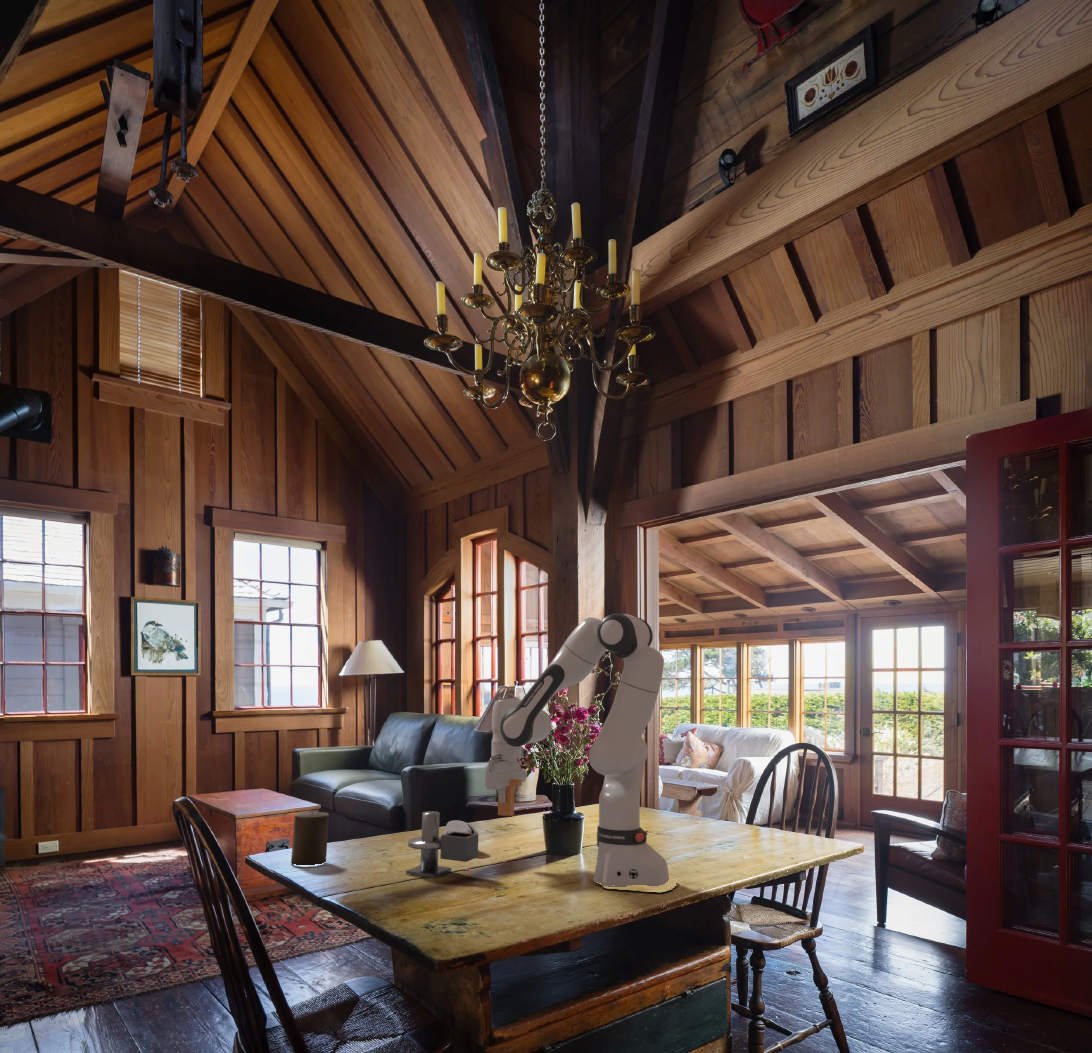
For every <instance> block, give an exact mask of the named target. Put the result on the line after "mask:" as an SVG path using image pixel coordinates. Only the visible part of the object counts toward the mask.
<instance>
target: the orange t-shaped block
mask: <svg viewBox="0 0 1092 1053" xmlns="http://www.w3.org/2000/svg"><path fill="white" fill-rule="evenodd" d="M514 786H515V787H520V786H523V782H522V780H520V779H512V780H510V785H509V786H507V787H506V791H505V795H506V796H507V802H506V803H500V802H499V795H498V794H497V815H498V816H503V817H504V816H506V817H511V816H514V815H515V790H514Z"/></svg>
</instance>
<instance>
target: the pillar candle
mask: <svg viewBox="0 0 1092 1053" xmlns="http://www.w3.org/2000/svg"><path fill="white" fill-rule="evenodd" d="M329 819H330V814H329V813H328V812H324V811H323V812H322V811H321V812H319V811H313V809H311V811H309V812H308V811H306V812H298V813H295V814H294V822H293V823H294V824H293V837H292V847H291V848H292V849H291V859H290V860H291V862H290V864H291V863H292V864H296V865H315V864H322V863H324V862H326V863H327V853H328V852H327V850H328V836H329V834H328V832H329ZM292 864H291V865H292Z"/></svg>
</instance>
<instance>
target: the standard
mask: <svg viewBox="0 0 1092 1053" xmlns="http://www.w3.org/2000/svg"><path fill="white" fill-rule="evenodd" d="M440 813H441V812H439V811H433V810H431V811H424V812H422V813H421V814H422V816H421V817H422V818H421V836H416V837H413V838H410V839H408V841H407V846H408V847H409V848H410V849H414V850H420V862H419V863H420V865H418V866H415V867H413V868H411V869H408V870H406V871H405V875H406V874H410V875H409V876H411V875H417V876H416V877H418V876H421V877H420V878H425V877H426V879H433V880H435V879H437V878H440V877H442V876H444V875H446V874H449V873H451V872H452V867H447V866H440V865H439V856H440V860H447V861H448V860H449V861H456V862H465V863H467V862H469V861H472V860H474V859H477V858H478V857H479V834H472V833H463V832H454V831H453V832H450V833H447V834H444V835H443V834H441V836H440V819H441V818H440V817H441V816H440ZM440 849H441V850H440ZM439 850H440V853H439Z"/></svg>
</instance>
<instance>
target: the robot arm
mask: <svg viewBox="0 0 1092 1053" xmlns="http://www.w3.org/2000/svg"><path fill="white" fill-rule="evenodd" d="M653 633H654V632H653V630H652V628H651V626H650V624H649V623H648V622H647V621H646V620H645V619H643V618H640V617H638V616H637V617H636V616H634V615H632V614H628V613H619V612H618V613H611V614H608V615H607V616H605V617H604V618H602V620H601V619H599V618H597V617H590V616H589V617H586V618H584V619H583V620H582V621H581V622H579V624H578V625H576V627H575V628H574V629H573V630H572V632H571V633H570V634H569V635H568V637H567V639H566V640H565V641H564V643H563V644H562V646H561V647H560V649H559V650H558V651H557V653H556V654H555V656H554V657H553V659H552V660H551V662H550V663H549V664H548V666H547V667H546V669H544V671H543V672H542V673H541V674H540V676H539V677H538V678H537V679H536V681H535V682H534V683H533V685H532V686H531V687H530V689H529V690H528V691H527V692H526V694H525V695H524V696H523V698H522V699H520V698H519V697H518V696H509V697H503V698H499V699H497V700H496V701H494V703H493V706H492V712H491V730H492V738H491V756H490V758H489V760H488V763H487V764H486V767H485V778H484V786H485V788H486V789H487V790H496V792H497V796H498V795H499V802H500V803H506V802H507V796H506V795H505V791H506V787H507V786H509V785H510V780H512V779H520V780H522V783H525V782H526V780H527V776H528V771H527V772H525V771H524V770H522V768H521V767H520V765H519V763H521V761H520V759H521V758H524V757H526V754H528V755H529V750H528V749H526V748H525V747H523V746H524V745H528V744H534V743H537V742H541V741H542V742H543V741H544V740H545V739H547V738H548V737H549V735H551V732H552V727H553V726H552V719H551V717H550V715H549V714H548V713H547V711H545V710H544V709H545V708H546V707H547V705H548V704H549V703H550V701H551V699H552V698H553V697H554V696H555V695H556V694H557V693H559V692H561V691H562V690H564V689H566V688H568V687H571V686H573V685H576V684H578V683H581V682H582V681H584V680H585V679H586V678H587V677H588V676H589V675H590V674H591V673H592V671H593V670H594V669H595V667H596V665H597V664H598V662H599V661H600V659H601V658H602V656H603V655H604V654H605V653H606V652H607V651H609V653H611V654H612V655H613V656H615V657H616V658H617V659H622V660H623V670H622V673H621V675H620V680H619V683H618V686H617V689H616V693H615V696H614V700H613V702H612V705H611V708H610V710H609V712H608V715H607V716H606V718H605V721H604V723H603V725H602V726H601V728H600V731H599V734H598V735H597V737H596V739H595V741H594V742H593V743H592V744H591V746H590V749H589V751H588V761H589V763H590V766H591V768H592V769H593V770H594V771H595V772H596V773H598V774H599V775H602V776H604V779H603V785H602V788H601V791H600V793H599V797H598V825H597V830H596V844H597V856H596V862H595V863H596V864H595V868H594V874H593V877H592V881H593V880H594V881H595V882H598V883H601V884H602V885H603V886H606V887H607V886H608V887H626V886H628V885H647V886H659V885H663V884H665V883H666V882H668V880H669V877H670V874H669V867H668V864H667V860H666V859H665V858H664V857H663V856H662V855H661V854H660V853H659V852H657V851H656V850H655V849H654V848H653V847H652V846H651V845H650V844H649V843H647V836H648V835H649V834H648V830H644V829H643V828H642V827H641V826H640V823H641V822H640V811H641V810H640V804H641V803H640V802H641V801H640V800H641V798H640V797H641V791H642V785H643V784H642V783H643V779H644V771H645V764H646V762H647V758H648V754H649V749H648V748H649V747H648V745H647V743H646V741H645V739H644V738H643V737H642V736H643V734H644V731H645V728H646V727H647V726H648V724H649V723H650V722H651V719H652V717H653V716H652V715H653V713H654V709H655V706H656V703H657V699H658V695H659V692H660V689H661V685H662V680H663V675H664V674H663V673H664V666H665V660H664V656H663V654H662V652H660V651H659V650H658V649H655V648H653V647H651V645H652V643H653V638H654V634H653ZM517 758H518V760H519V762H518V761H517ZM526 758H527V757H526ZM522 761H524V759H522ZM521 765H522V763H521ZM515 789H516V786H514V791H515ZM612 885H615V886H612Z"/></svg>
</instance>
